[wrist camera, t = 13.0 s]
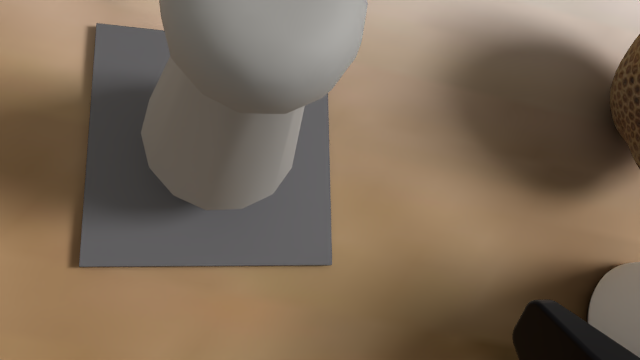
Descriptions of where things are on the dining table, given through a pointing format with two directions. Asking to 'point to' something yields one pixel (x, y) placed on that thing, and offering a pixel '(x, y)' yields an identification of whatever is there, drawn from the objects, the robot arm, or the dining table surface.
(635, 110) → the natural sponge
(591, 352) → the robot arm
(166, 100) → the salt shaker
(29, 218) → the dining table surface
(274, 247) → the charcoal mat
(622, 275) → the can
